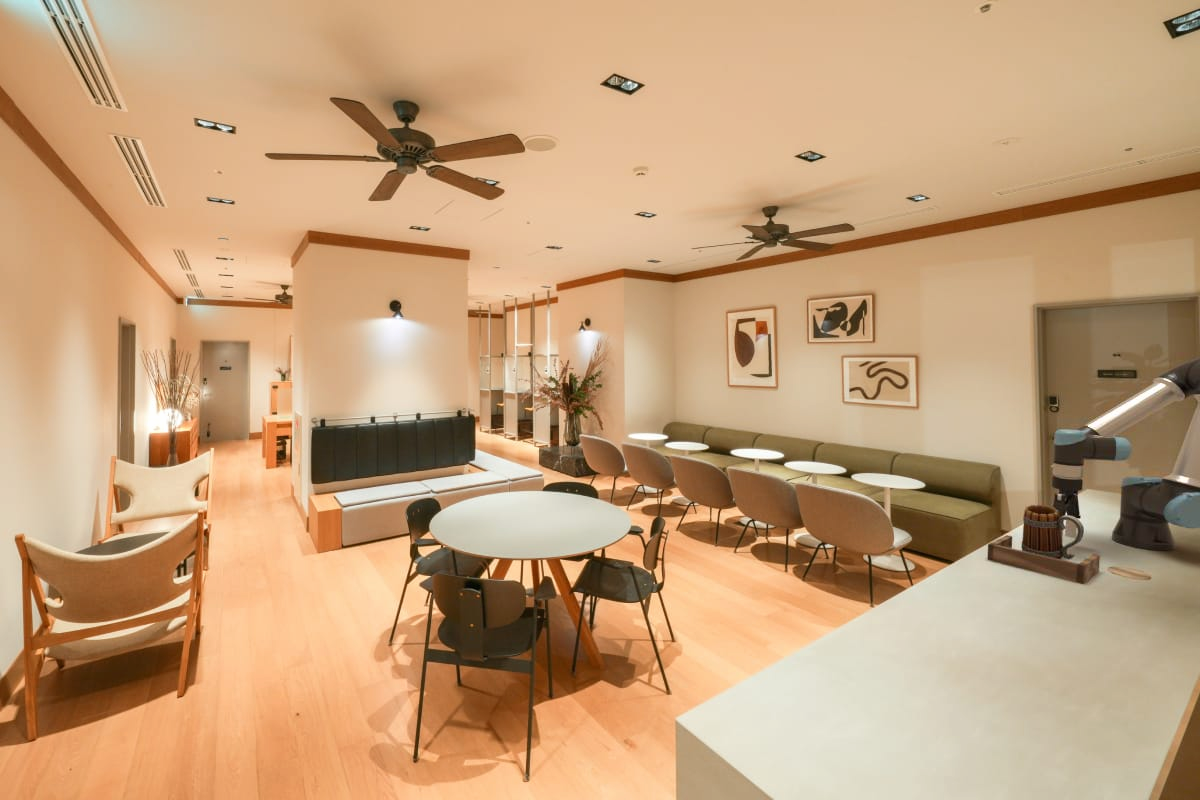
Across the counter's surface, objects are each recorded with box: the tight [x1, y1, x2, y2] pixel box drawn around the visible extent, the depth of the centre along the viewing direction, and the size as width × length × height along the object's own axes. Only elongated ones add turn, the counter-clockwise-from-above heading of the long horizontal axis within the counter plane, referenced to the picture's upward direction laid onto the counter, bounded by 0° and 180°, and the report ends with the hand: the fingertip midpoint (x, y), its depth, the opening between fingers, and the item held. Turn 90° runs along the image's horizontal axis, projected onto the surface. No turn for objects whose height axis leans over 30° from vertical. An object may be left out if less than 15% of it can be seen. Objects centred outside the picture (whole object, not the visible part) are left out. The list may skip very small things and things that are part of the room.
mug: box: [1020, 504, 1085, 560], centre depth 167 cm, size 16×11×15 cm
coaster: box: [1107, 565, 1152, 581], centre depth 156 cm, size 9×9×1 cm
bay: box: [986, 535, 1101, 585], centre depth 163 cm, size 16×23×5 cm
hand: (1063, 540), depth 175 cm, fingers open, 13 cm apart
